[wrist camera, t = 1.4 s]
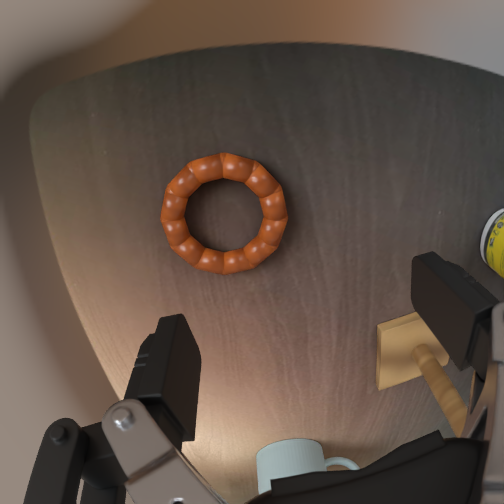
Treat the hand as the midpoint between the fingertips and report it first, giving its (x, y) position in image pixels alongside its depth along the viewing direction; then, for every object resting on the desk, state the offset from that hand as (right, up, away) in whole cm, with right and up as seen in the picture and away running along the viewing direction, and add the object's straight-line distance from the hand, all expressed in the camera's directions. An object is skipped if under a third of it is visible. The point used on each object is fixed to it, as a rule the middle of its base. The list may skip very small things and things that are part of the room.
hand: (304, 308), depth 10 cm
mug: (+6, -26, +26) cm, 37 cm away
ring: (-4, +4, +11) cm, 12 cm away
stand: (+15, -8, +18) cm, 25 cm away
